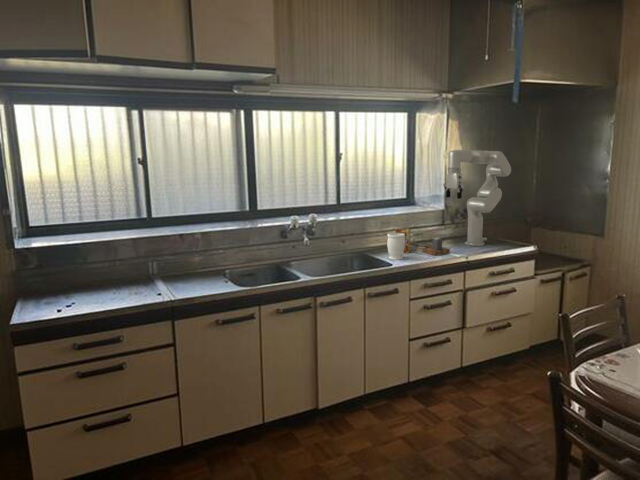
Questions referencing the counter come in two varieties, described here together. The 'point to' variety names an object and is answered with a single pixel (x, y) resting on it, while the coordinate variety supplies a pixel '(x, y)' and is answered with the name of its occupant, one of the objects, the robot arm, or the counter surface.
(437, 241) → the grey rectangular block
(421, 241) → the counter surface
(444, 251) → the socket block
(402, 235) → the jar
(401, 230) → the candy box
